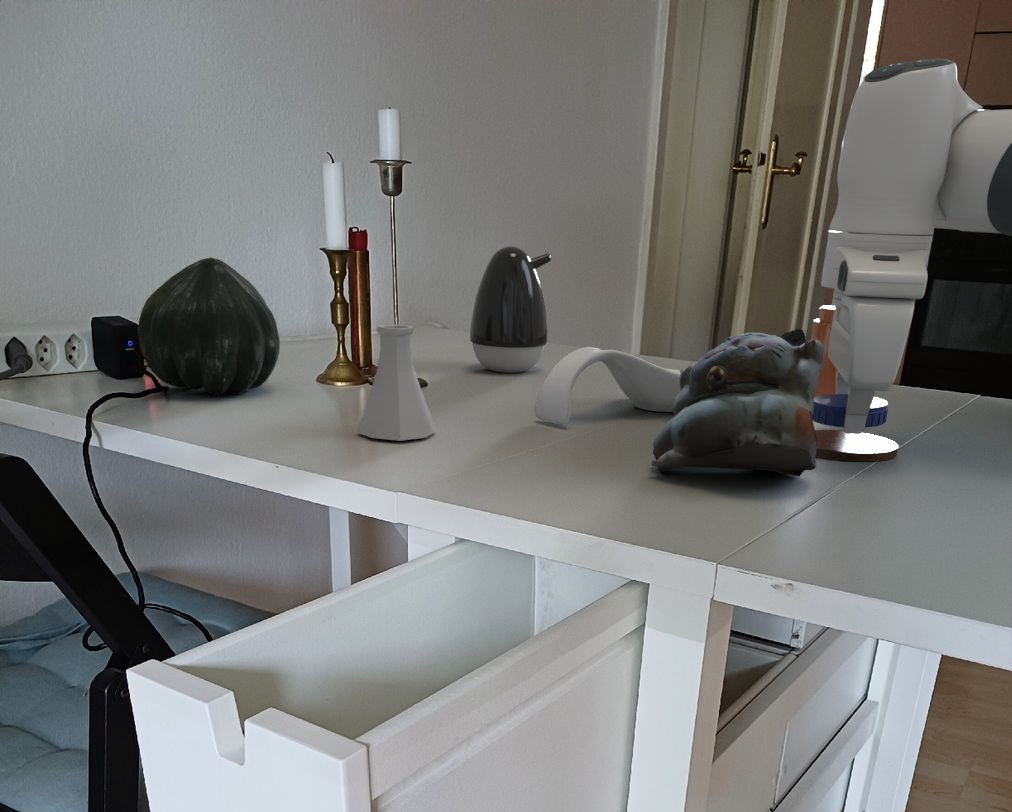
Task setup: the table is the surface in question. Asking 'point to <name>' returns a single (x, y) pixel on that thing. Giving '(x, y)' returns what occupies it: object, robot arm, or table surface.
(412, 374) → the flask
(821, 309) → the jar
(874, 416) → the jar lid
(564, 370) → the spoon rest
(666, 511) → the table surface
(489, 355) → the pump dispenser
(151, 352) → the squash
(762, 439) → the lucky cat figurine
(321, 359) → the table surface
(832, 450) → the coaster
